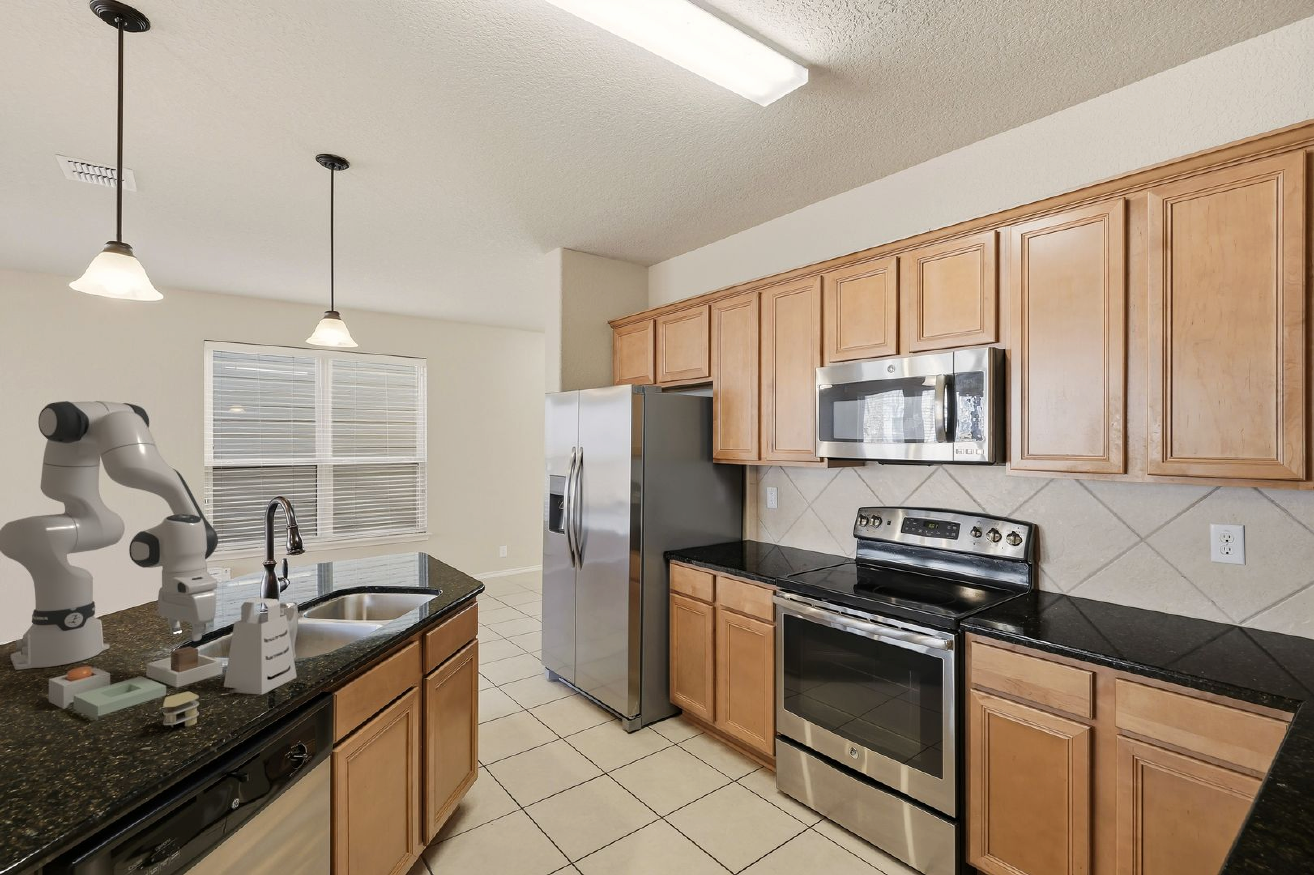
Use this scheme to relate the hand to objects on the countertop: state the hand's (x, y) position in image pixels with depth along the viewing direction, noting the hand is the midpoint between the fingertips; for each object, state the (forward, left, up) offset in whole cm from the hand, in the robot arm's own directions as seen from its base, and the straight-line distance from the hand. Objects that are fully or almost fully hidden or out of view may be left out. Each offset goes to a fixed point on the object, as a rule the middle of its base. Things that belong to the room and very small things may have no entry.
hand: (185, 637), depth 149 cm
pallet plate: (+3, -14, -10) cm, 18 cm away
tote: (-1, 0, -10) cm, 10 cm away
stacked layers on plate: (+26, -13, -11) cm, 31 cm away
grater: (+19, +7, -10) cm, 23 cm away
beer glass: (+9, +18, -10) cm, 23 cm away
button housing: (-9, -17, -10) cm, 22 cm away
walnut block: (-1, 0, -9) cm, 9 cm away
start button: (-9, -17, -7) cm, 20 cm away
